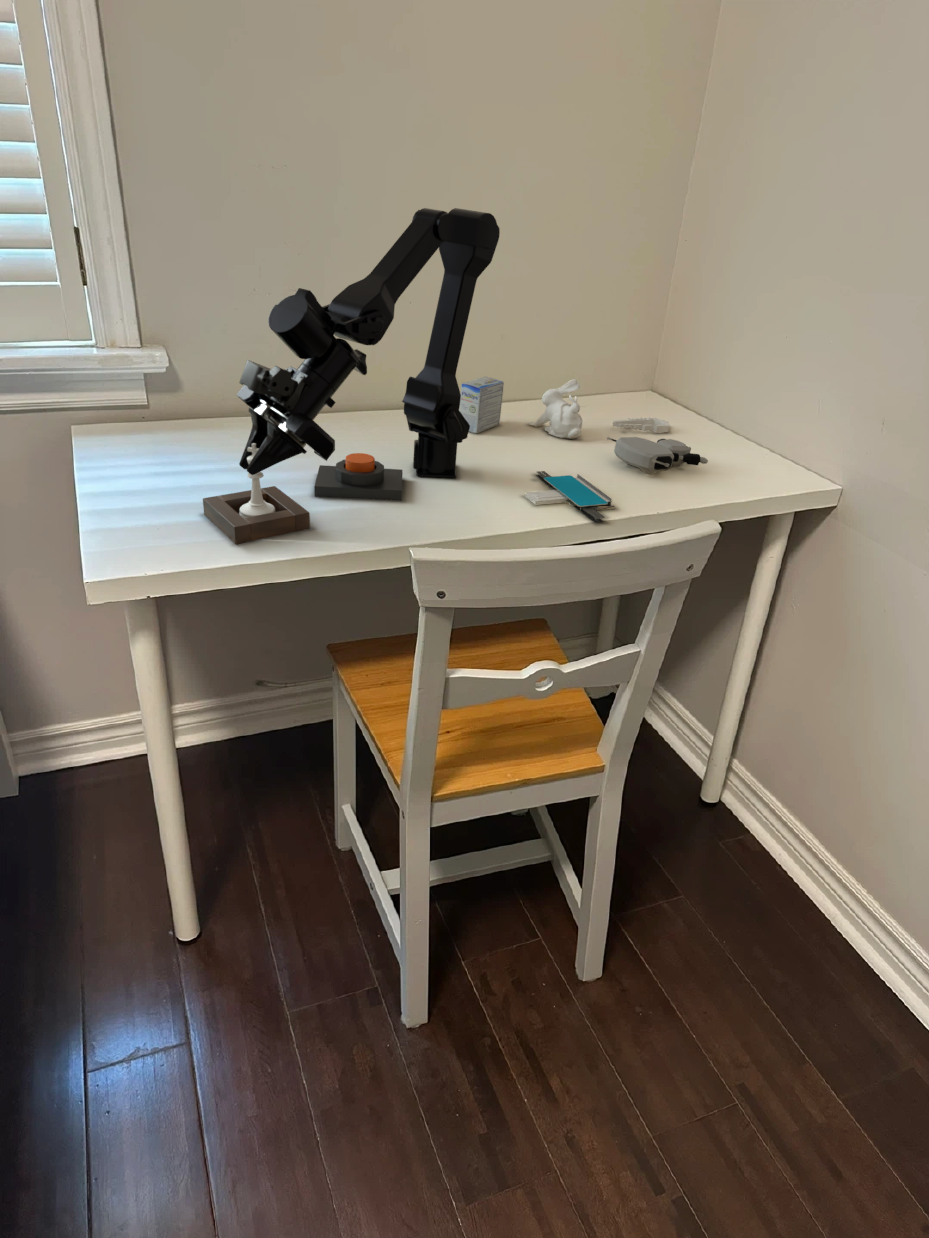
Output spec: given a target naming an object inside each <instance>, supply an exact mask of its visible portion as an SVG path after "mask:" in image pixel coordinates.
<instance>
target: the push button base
mask: <svg viewBox="0 0 929 1238" xmlns="http://www.w3.org/2000/svg"><path fill="white" fill-rule="evenodd" d="M313 490H314V491H313V493H314V497H315V498H330V499H331V498H333V499H351V500H354V499H355V500H372V501H373V500H374V501H375V500H376V501H392V502H393V501H394V502H395V501H396V502H402V501H403V469H401V468H399V469H397V468H385V465H384V464H383V463H381V462H380V461H378V460H375V469H374V470H373V471H371V472H364V473H363V472H352V471H348V470H347V469H346V458H344V459H342V460H340V461H338V462H336V464H335V465H321V464H320V465H319V467H318V470H317V475H316V479H315V483H314V489H313Z"/></svg>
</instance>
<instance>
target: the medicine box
mask: <svg viewBox="0 0 929 1238" xmlns="http://www.w3.org/2000/svg"><path fill="white" fill-rule="evenodd" d="M504 385H505V382H504V381H503V380H500V379H497V378H493V377H489V376H482V377H478V378H475V379H472V380H468V381H466V382H462V383H461V387H460V394H461V399H460V407H459V411H460V412H461V414H462V415H463V417H464V418H465V419H466V421H467V422H468V423H469V425H470V429H469V432H468V433H472V434H478V433H481V432H484V431H486V430H489V429H491V428H495V427H497V426H500V423H501V414H502V403H503V396H504V395H503V394H504V387H505V386H504Z"/></svg>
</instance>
